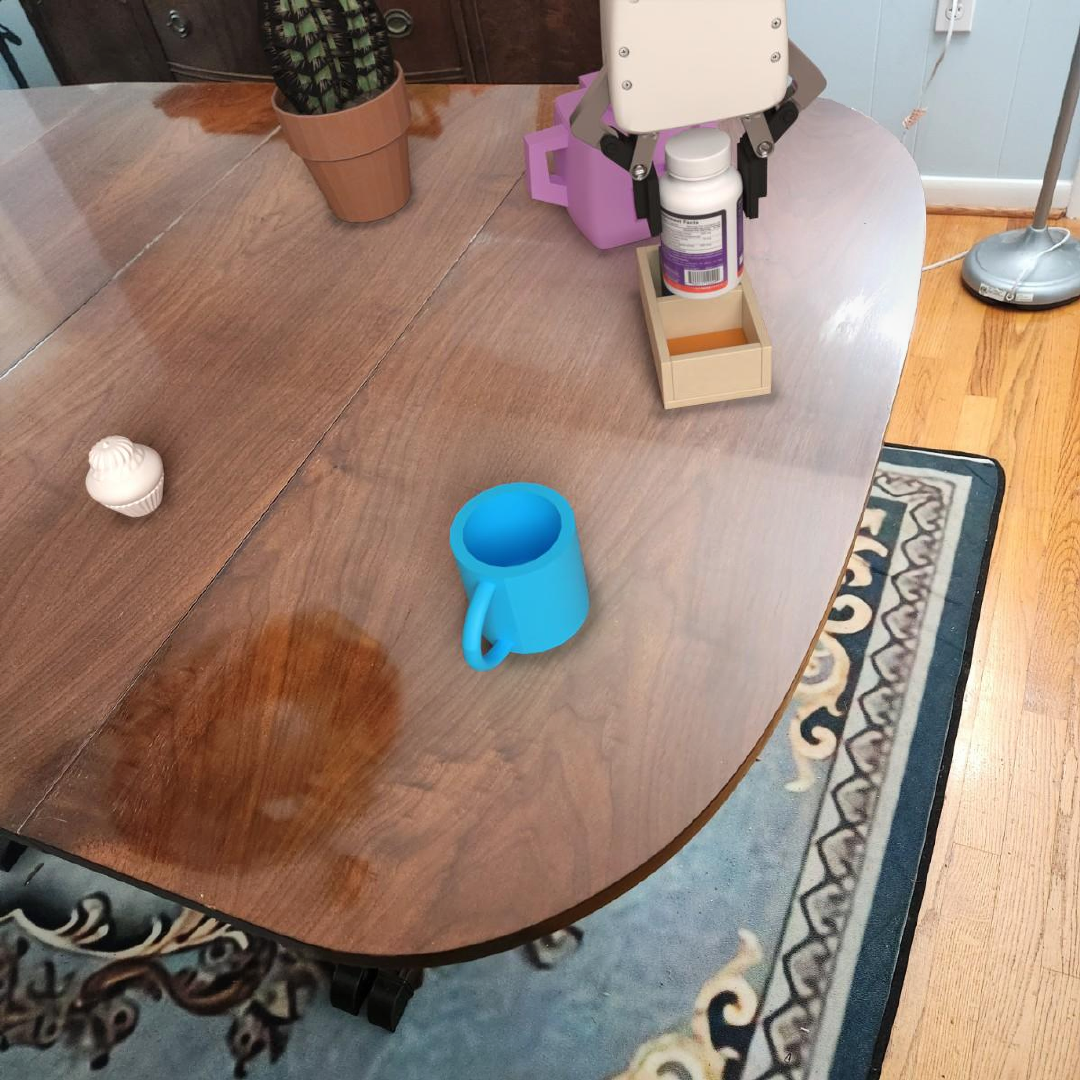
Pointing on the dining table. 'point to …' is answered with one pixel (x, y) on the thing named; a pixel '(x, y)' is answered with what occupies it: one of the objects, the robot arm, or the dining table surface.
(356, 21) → the potted plant
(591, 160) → the teakettle
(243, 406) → the dining table surface
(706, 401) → the sorter
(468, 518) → the mug
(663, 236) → the pill bottle
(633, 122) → the robot arm
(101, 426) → the dining table surface
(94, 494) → the muffin
